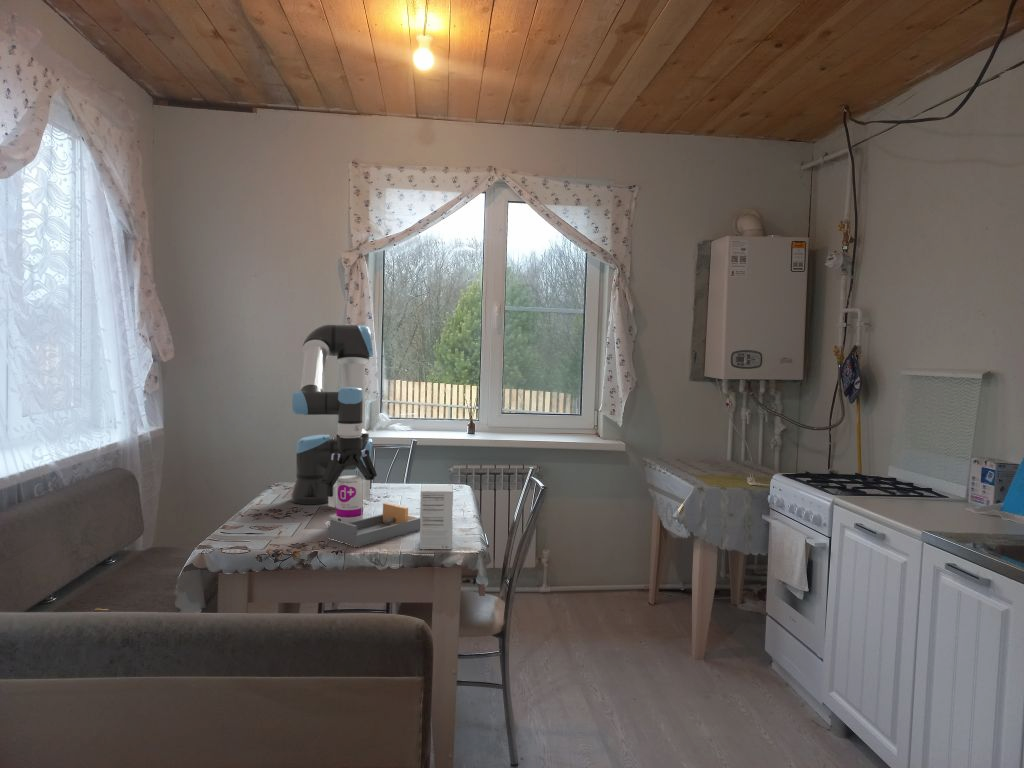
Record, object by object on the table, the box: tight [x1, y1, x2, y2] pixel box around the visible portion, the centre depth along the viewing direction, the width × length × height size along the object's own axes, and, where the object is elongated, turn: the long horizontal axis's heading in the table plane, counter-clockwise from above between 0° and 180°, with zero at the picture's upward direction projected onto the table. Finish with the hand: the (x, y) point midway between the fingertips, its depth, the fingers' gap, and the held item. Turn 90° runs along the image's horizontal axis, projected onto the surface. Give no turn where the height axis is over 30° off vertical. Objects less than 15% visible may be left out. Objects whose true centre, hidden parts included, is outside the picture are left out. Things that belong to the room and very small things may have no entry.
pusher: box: [382, 502, 409, 525], centre depth 210 cm, size 10×4×6 cm, turn 53°
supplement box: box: [419, 483, 454, 550], centre depth 196 cm, size 10×9×17 cm
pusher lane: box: [327, 513, 420, 548], centre depth 206 cm, size 12×26×6 cm, turn 143°
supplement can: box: [335, 474, 364, 523], centre depth 216 cm, size 8×8×15 cm
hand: (349, 503), depth 216 cm, fingers open, 13 cm apart
